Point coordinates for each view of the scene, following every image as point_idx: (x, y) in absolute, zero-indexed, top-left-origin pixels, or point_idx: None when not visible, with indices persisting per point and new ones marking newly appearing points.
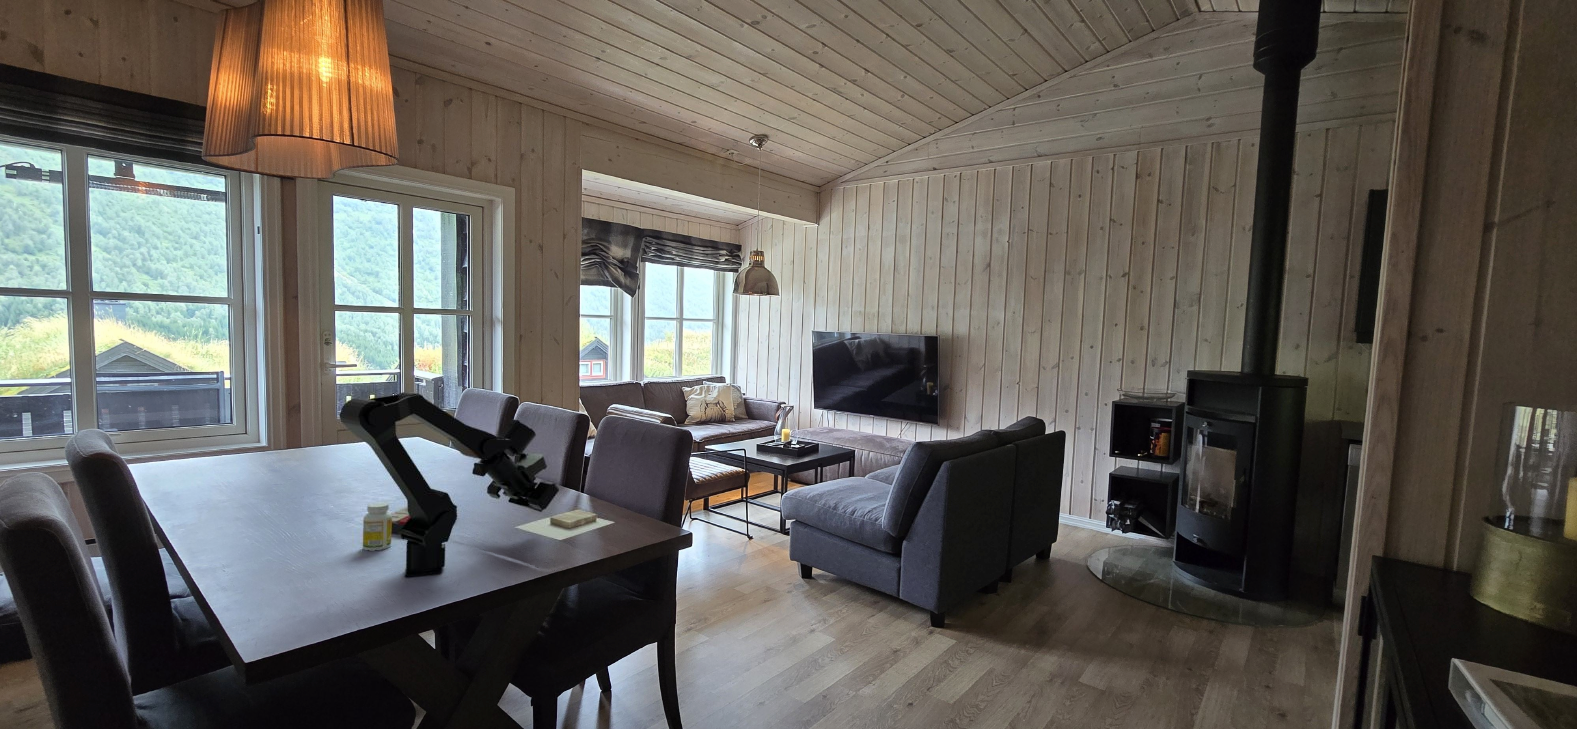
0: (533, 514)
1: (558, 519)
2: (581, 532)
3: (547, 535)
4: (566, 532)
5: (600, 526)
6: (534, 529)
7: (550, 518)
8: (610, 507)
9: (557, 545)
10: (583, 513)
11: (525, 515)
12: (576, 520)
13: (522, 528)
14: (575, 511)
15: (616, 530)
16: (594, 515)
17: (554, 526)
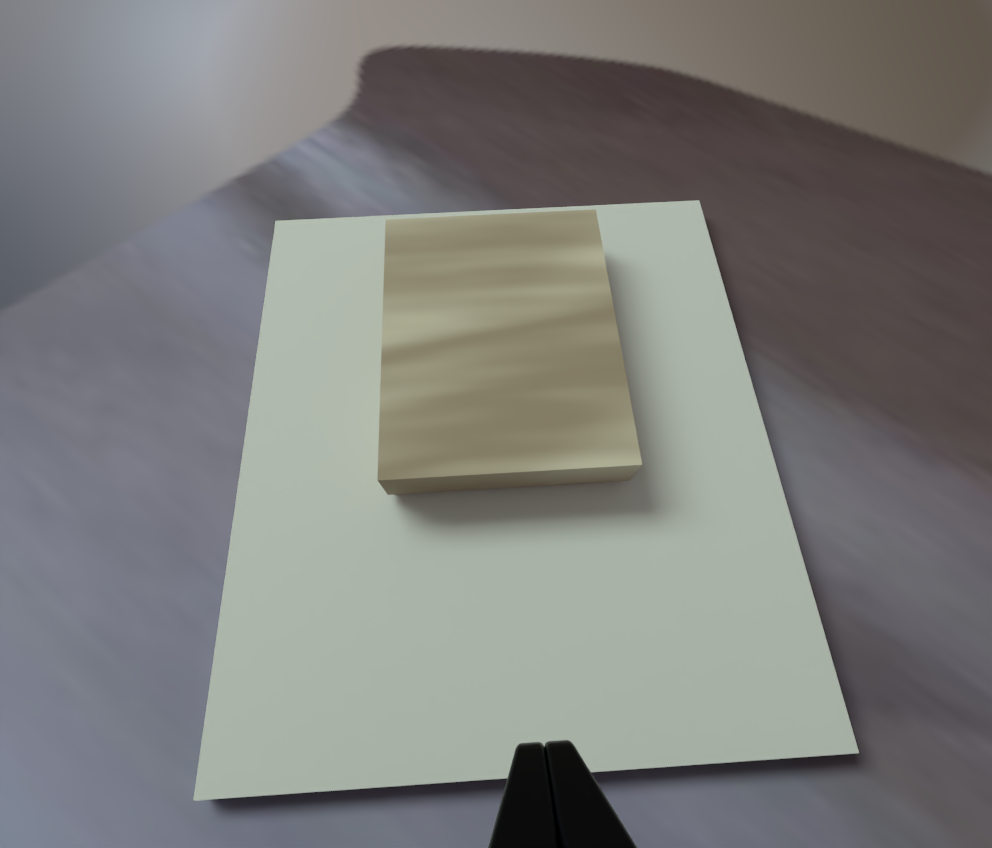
0: (55, 393)
1: (489, 473)
2: (764, 477)
3: (654, 740)
4: (687, 558)
5: (718, 303)
6: (411, 701)
7: (385, 484)
8: (387, 49)
9: (901, 822)
10: (503, 249)
11: (12, 447)
12: (627, 393)
13: (294, 766)
14: (412, 254)
15: (808, 273)
16: (598, 230)
17: (476, 518)
